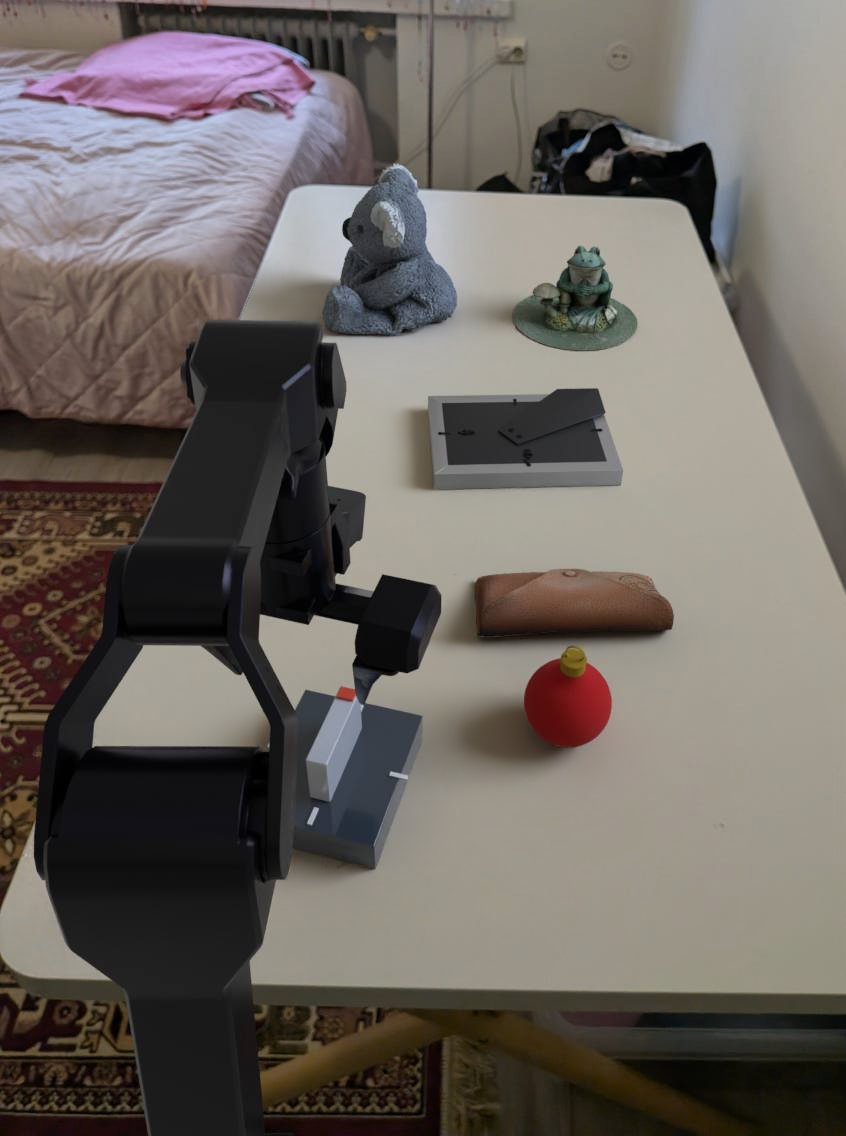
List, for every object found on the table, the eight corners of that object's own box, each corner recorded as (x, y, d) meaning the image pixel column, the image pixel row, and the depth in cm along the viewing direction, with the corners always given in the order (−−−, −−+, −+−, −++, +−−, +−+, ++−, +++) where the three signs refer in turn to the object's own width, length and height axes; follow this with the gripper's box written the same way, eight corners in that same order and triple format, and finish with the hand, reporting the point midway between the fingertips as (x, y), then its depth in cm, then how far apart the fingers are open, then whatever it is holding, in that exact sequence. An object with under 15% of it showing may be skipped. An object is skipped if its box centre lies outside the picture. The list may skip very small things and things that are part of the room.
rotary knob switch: (383, 872, 69) (382, 847, 67) (239, 835, 71) (233, 810, 69) (429, 740, 78) (430, 715, 76) (301, 711, 80) (298, 686, 78)
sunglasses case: (651, 571, 94) (669, 550, 88) (660, 641, 92) (679, 625, 86) (470, 577, 93) (475, 556, 87) (474, 648, 90) (479, 633, 84)
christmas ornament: (615, 711, 81) (631, 629, 75) (593, 777, 76) (608, 694, 70) (536, 686, 83) (545, 604, 77) (509, 749, 78) (516, 665, 72)
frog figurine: (505, 343, 130) (510, 263, 123) (519, 286, 144) (524, 211, 137) (636, 357, 129) (648, 277, 122) (638, 297, 143) (649, 223, 136)
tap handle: (330, 802, 70) (326, 762, 67) (309, 797, 70) (304, 757, 67) (362, 728, 75) (360, 688, 72) (343, 723, 75) (340, 683, 72)
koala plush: (344, 281, 143) (337, 150, 131) (463, 290, 143) (467, 159, 130) (318, 337, 130) (307, 196, 118) (449, 348, 129) (452, 207, 117)
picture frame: (595, 407, 119) (427, 410, 117) (598, 388, 117) (427, 390, 115) (621, 485, 106) (434, 489, 104) (624, 464, 105) (434, 468, 103)
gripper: (466, 463, 62) (460, 631, 72) (202, 415, 65) (230, 581, 75) (415, 577, 54) (416, 749, 63) (114, 515, 57) (159, 688, 66)
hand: (302, 684), depth 67 cm, fingers open, 9 cm apart
